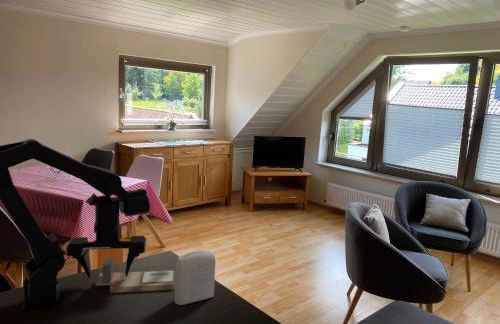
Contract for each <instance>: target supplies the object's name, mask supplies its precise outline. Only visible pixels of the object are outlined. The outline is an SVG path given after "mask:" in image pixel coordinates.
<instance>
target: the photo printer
mask: <svg viewBox="0 0 500 324" xmlns="http://www.w3.org/2000/svg"><path fill="white" fill-rule="evenodd" d="M174 267H175V268H174V270H175V278H174V303H175V304H176V305H178V306H183V305H188V304H193V303H196V302H199V301H204V300H207V299H210V298H213V297H214V296H215V280H216V279H215V277H216V275H215V274H216V257H215V253H214V252H212V251H211V250H195V251H190V252H188V253H185V254H182V255H180V256H179V257H177V258H176V259H175V266H174Z"/></svg>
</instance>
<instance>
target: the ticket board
mask: <svg viewBox="0 0 500 324" xmlns="http://www.w3.org/2000/svg"><path fill="white" fill-rule="evenodd" d="M120 272H121V271H120ZM169 290H170V291H172V290H174V291H175V269H174V270H153V271H151V270H150V271H149V270H148V271H129V273H128V276H126V271H125V272H121V274H120V277H119V281H118V284H117V285H109V293H110V294H115V293H129V292H130V293H131V292H134V293H135V292H149V291H150V292H151V291H152V292H153V291H169Z"/></svg>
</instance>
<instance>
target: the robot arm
mask: <svg viewBox="0 0 500 324" xmlns="http://www.w3.org/2000/svg"><path fill="white" fill-rule="evenodd" d="M31 160H36V161H38V162H40V163H42V164H44V165H47V166H49V167H51V168H54V169H56V170H58V171H60V172H63V173H66V174H68V175H69V176H72V177H75V178H77V179H79V180H81V181H83V182H84V183H85V184H87V185H89V186H90V187H92V189H95V190H96V191H97V192H99V193H100V194H102V195H96V194H95V193H92V194H91V196H90V197H88V198H87V199H86V200H85V201H86V204H88V205H89V206H91V207H92V206H94V211H95V213H94V215H95V217H94V218H95V221H94V223H93V225H94V227H93V233H94V234H95V241H89V238H88V237H86V236H84V237H83V236H82V237H72V239H70V240H69V242H68V244H67V245H66V250H64V249H63V247H62V245H61V243H60V242H59V240H58V238H57V237H56V236H55V233H54V232H52V233H50V234H48V235H47V234H46V233H44V231H43V230H42V228H41V227H40V225H39V224H38V222H37V220H36V218H35V217H34V215H33V214H32V212H31V211H30V209H29V208H28V205H27V204H26V202H25V201H24V199H23V197H22V195H21V194H20V193H19V190H18V189H17V187H16V186H15V185H14V181H13V179H12V176H11V172H10V169H9V168H12V167H15V166H18V165H20V164H23V163H24V162H25V163H26V162H28V161H31ZM112 196H113V197H112ZM0 201H1V203H2V204H3V206H4V208H5V209H6V211H7V212H8V214H9V216H10V217H11V218H12V220H13V221H14V223H15V224H16V226H17V227H18V229H19V231H20V232H21V234H22V236H23V237H24V239H25V240H26V242H27V244H28V247H29V251H30V253H31V256H32V257H30V259H28V260H27V262H26V263H25V264H24V265H22V266H23V267H22V268H23V270H24V273H25V275H26V278H25V279H24V280H23V297H24V299H23V300H24V304H23V305H22V306H21V311H28V310H29V311H30V310H31V311H32V310H44V309H47V310H48V309H49V310H50V309H52V308H53V307H54V305H55V303H56V302H57V301H58V299H59V298H60V295H61V294H60V290H61V289H60V281H59V280H57V279H58V275H59V272H61V271H62V270H63V268H64V267H65V264H66V258H65V256H68V257H72V259H75V260H77V262H78V263H79V264H80V266H81V268H82V269H83V270H84V272H85V274H86V276H87V277H88V279H90V278H91V277H92V268H91V261H90V250H110V249H113V250H114V249H115V250H116V249H117V250H118V249H121V250H122V249H128V252H127V257H126V264H125V266H126V267H125V272H126V276H128V273H129V272H130V269H131V267H132V264H133V263H134V260H135V258H136V257H137V258H138V257H140V255H141V254H142V255H143V254H145V251H146V247H147V238H146V237H145V235H132V236H130V238H129V240H121V239H122V229H123V228H122V226H123V225H122V224H121V223H120V214H123V215H124V216H125V217H134V216H139V215H147V214H149V213H150V210H151V202H150V200H149V196H148V195H147V190H146V189H145V188H138V189H133V190H127V189H125V188H124V187H123V182H122V178H121V177H120V175H118V174H117V173H115V172H113V171H112V170H110V169H106V168H103V167H101V166H100V167H99V166H96V165H91V164H86V163H84V162H82V161H80V160H78V159H75V158H73V157H71V156H68V155H67V154H64V153H63V152H60V151H58V150H56V149H54V148H52V147H49V146H47V145H45V144H42V143H41V142H40V141H38V140H36V139H34V138H28V139H25V140H22V141H17V142H12V143H8V144H7V143H6V144H2V145H0Z"/></svg>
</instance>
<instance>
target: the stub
mask: <svg viewBox="0 0 500 324" xmlns="http://www.w3.org/2000/svg"><path fill="white" fill-rule="evenodd" d="M114 267H115V266H114V257H106V258H105V260H104V263H103V265H102V272H100V273H99V275H98V278H97V280H96V282H95V286H97V287H98V286H110V285H117V284H118V281H119V277H120V274H121V271H120V272H115V271H114V269H115V268H114Z"/></svg>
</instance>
